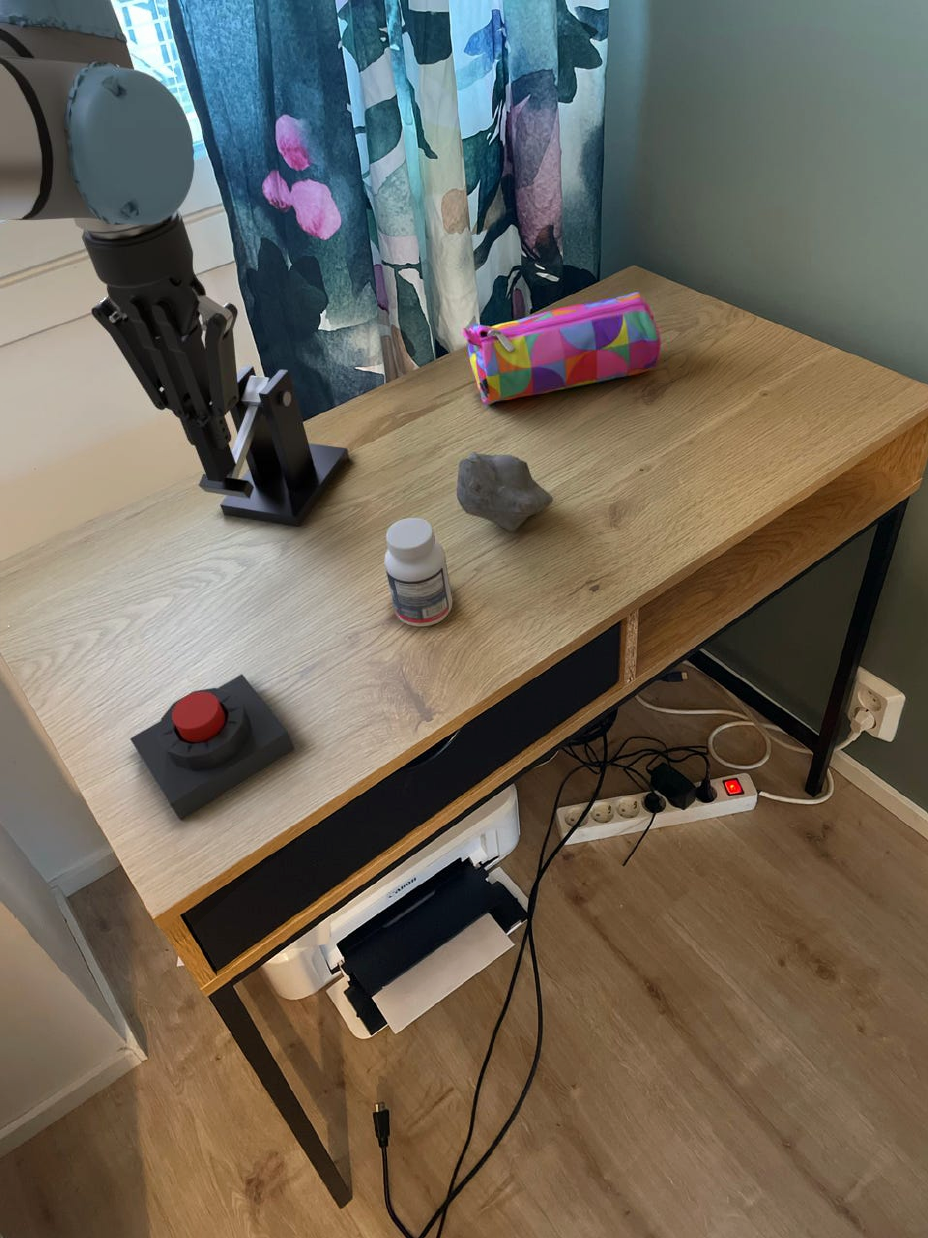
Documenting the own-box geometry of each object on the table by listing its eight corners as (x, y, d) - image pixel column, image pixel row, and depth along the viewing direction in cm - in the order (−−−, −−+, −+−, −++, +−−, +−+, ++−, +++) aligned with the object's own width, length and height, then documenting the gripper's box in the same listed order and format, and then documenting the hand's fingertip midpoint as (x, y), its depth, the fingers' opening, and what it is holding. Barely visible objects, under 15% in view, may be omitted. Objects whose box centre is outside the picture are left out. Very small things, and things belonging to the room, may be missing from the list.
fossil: (577, 526, 86) (576, 457, 80) (504, 570, 83) (497, 502, 77) (505, 476, 93) (499, 409, 87) (435, 514, 90) (424, 448, 84)
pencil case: (480, 425, 100) (472, 351, 93) (461, 382, 106) (453, 311, 100) (666, 384, 102) (671, 310, 95) (636, 345, 108) (639, 273, 102)
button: (190, 750, 67) (183, 737, 66) (171, 722, 69) (164, 708, 68) (233, 725, 69) (226, 711, 67) (213, 698, 71) (206, 683, 69)
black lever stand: (299, 527, 91) (266, 418, 81) (223, 514, 93) (183, 408, 84) (349, 457, 98) (324, 351, 89) (277, 448, 101) (246, 344, 92)
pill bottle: (403, 585, 83) (387, 510, 77) (458, 588, 82) (446, 512, 76) (388, 626, 79) (371, 551, 73) (446, 630, 78) (433, 554, 72)
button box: (180, 820, 67) (161, 791, 65) (139, 754, 72) (121, 724, 69) (295, 749, 71) (282, 717, 68) (249, 690, 76) (235, 659, 73)
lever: (252, 501, 85) (240, 489, 83) (208, 494, 87) (195, 482, 85) (292, 392, 89) (282, 378, 86) (249, 387, 90) (237, 373, 88)
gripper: (228, 200, 68) (301, 457, 85) (89, 195, 72) (185, 441, 89) (174, 244, 63) (262, 506, 80) (28, 235, 67) (142, 487, 84)
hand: (222, 472), depth 84 cm, fingers closed
